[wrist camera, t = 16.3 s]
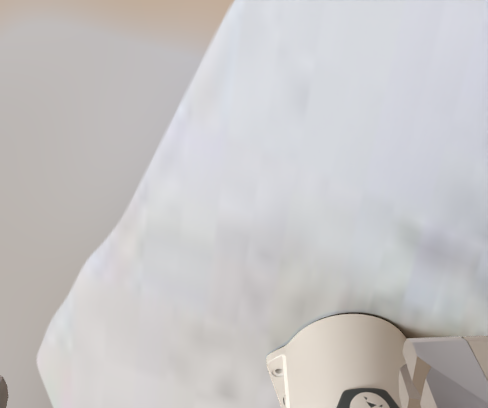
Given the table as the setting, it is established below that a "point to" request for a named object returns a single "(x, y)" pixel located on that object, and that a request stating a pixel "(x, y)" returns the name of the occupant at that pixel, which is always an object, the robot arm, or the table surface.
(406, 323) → the table surface
